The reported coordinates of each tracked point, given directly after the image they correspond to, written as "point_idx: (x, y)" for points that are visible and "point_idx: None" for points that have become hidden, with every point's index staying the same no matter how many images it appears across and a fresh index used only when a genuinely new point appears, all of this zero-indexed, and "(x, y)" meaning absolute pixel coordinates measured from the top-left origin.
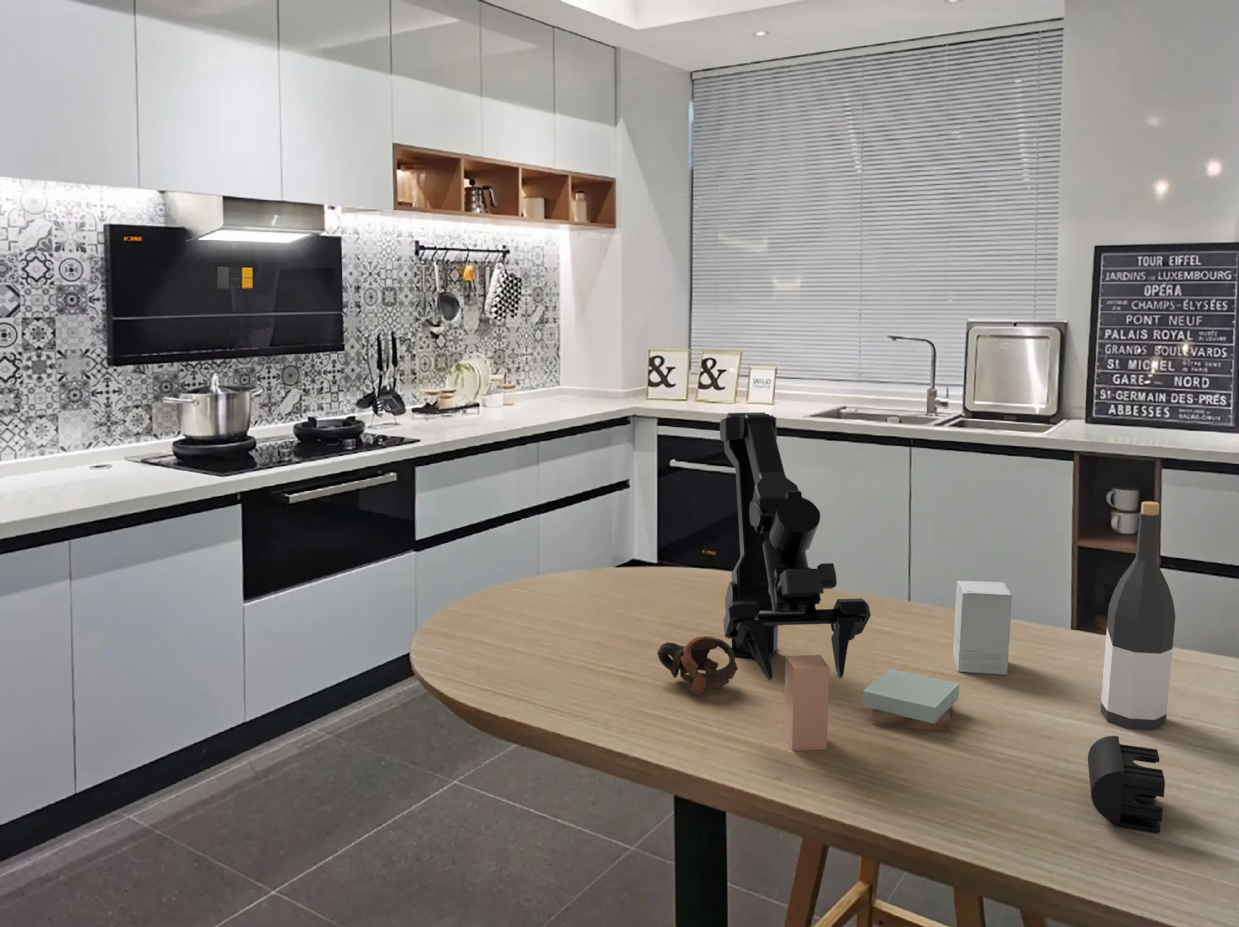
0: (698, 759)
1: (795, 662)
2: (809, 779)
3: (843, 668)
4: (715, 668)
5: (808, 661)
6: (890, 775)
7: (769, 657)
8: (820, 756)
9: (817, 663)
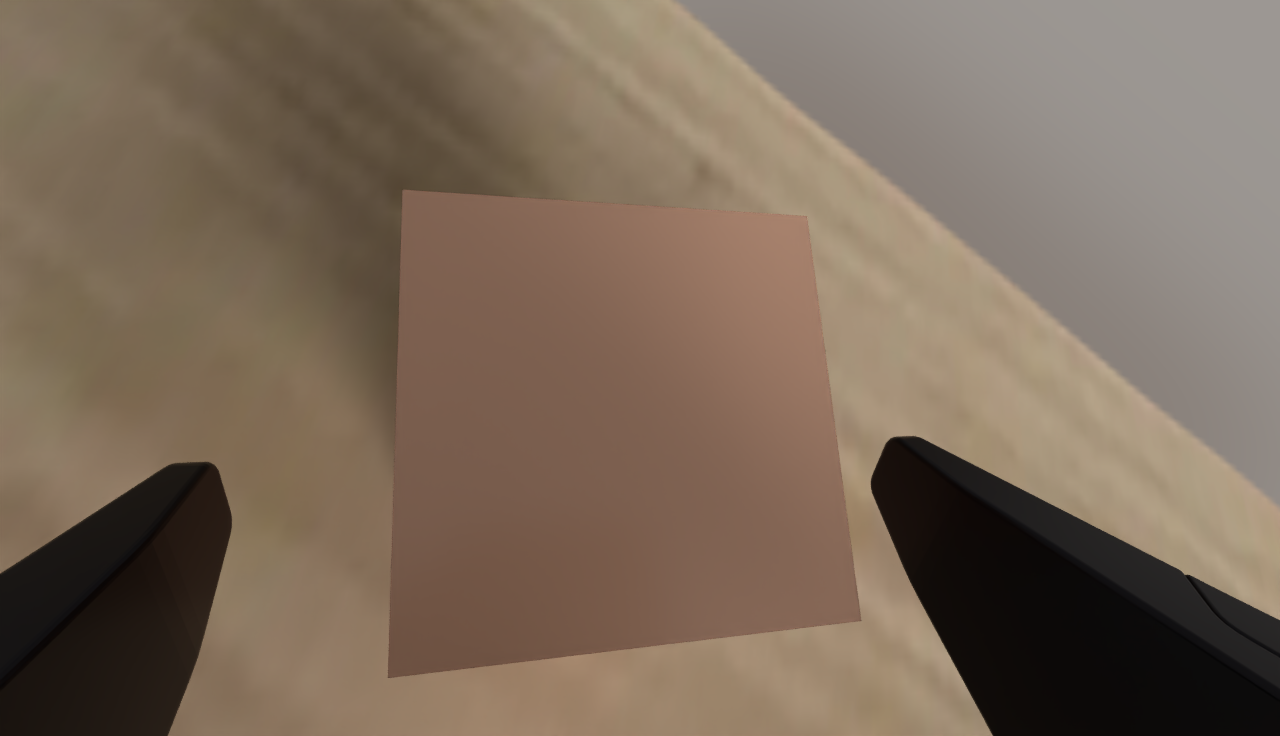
0: (960, 348)
1: (776, 377)
2: (595, 151)
3: (123, 502)
4: None
5: (619, 406)
6: (237, 128)
7: (1037, 535)
8: None
9: (520, 330)
